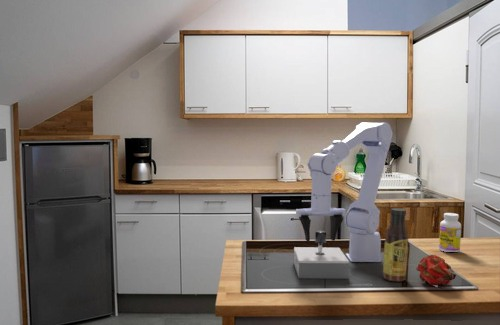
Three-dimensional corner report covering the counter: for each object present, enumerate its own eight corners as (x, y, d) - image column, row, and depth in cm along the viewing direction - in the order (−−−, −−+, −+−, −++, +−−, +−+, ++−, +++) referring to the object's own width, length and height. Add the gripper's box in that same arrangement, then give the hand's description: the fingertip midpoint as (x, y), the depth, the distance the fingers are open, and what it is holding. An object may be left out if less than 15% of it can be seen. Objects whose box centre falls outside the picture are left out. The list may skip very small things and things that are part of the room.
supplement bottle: (434, 250, 162) (436, 213, 160) (445, 247, 165) (447, 211, 164) (453, 254, 156) (455, 216, 155) (463, 251, 160) (465, 214, 159)
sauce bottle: (394, 284, 127) (396, 212, 126) (377, 277, 133) (380, 208, 131) (411, 280, 130) (414, 210, 129) (395, 274, 136) (397, 206, 134)
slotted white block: (338, 263, 146) (339, 247, 145) (348, 278, 132) (348, 261, 131) (293, 262, 145) (294, 247, 145) (298, 278, 132) (299, 260, 131)
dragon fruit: (422, 281, 135) (448, 302, 123) (403, 266, 132) (428, 287, 121) (441, 258, 134) (469, 277, 123) (422, 243, 132) (449, 261, 120)
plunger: (335, 253, 144) (335, 227, 143) (342, 264, 133) (343, 236, 132) (299, 252, 144) (299, 227, 143) (303, 263, 133) (304, 236, 132)
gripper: (340, 192, 142) (339, 236, 143) (293, 192, 140) (293, 237, 141) (348, 195, 135) (347, 242, 136) (299, 196, 133) (298, 243, 134)
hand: (320, 240), depth 138 cm, fingers open, 7 cm apart
